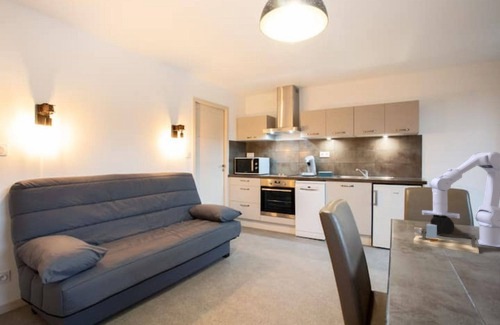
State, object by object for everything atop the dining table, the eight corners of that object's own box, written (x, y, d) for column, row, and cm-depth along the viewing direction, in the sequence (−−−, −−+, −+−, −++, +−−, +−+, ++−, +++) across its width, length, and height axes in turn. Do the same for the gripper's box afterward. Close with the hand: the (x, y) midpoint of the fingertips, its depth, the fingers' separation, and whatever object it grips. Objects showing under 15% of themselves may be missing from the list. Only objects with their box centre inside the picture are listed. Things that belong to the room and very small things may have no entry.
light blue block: (437, 236, 126) (436, 224, 126) (436, 238, 123) (436, 226, 123) (427, 235, 128) (427, 223, 128) (426, 237, 125) (426, 225, 125)
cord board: (477, 247, 119) (476, 233, 119) (478, 253, 111) (478, 238, 111) (415, 238, 134) (415, 225, 134) (413, 243, 126) (413, 229, 126)
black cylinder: (444, 230, 163) (453, 217, 161) (447, 239, 135) (458, 222, 133) (426, 221, 168) (435, 208, 166) (426, 227, 140) (437, 211, 139)
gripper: (421, 202, 125) (421, 230, 125) (459, 205, 116) (460, 235, 116) (422, 200, 130) (422, 227, 130) (459, 203, 121) (459, 232, 121)
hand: (440, 231), depth 123 cm, fingers closed
